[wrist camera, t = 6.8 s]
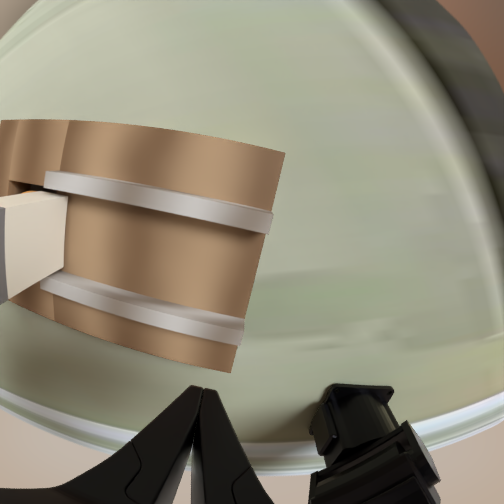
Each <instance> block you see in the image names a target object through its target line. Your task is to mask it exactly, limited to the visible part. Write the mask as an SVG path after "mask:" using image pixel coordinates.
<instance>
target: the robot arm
mask: <svg viewBox="0 0 504 504" xmlns="http://www.w3.org/2000/svg"><path fill="white" fill-rule="evenodd" d="M336 389H337V390H336ZM393 393H394V389H393V388H392V387H391V386H365V385H349V384H334V385H333V386H331V388H330V390H329V392H328V394H327V396H326V398H325V400H324V402H323V403H322V404H321V405H320V407H319V409H318V410H317V412H316V414H315V416H314V418H313V420H312V422H311V426H310V428H309V434H310V435H314V438H315V442H316V447H317V451H318V454H319V455H320V456H324V460H325V464H326V468H325V469H323V470H321V471H319V472H318V471H316V472H314V473H312V474H311V479H310V490H309V500H308V504H440V500H441V499H440V497H439V495H438V493H437V491H436V489H435V487H434V485H435V484H437V483H438V482H440V481H441V480H440V477H439V474H438V472H437V469H436V467H435V464H434V462H433V459H432V457H431V455H430V454H429V452H428V450H427V448H426V447H425V445H424V443H423V442H422V440H421V439H420V437H419V436H418V435H417V433H416V432H415V430H414V429H413V428H412V426H411V425H410V424H409V422H408V421H407V420H406V421H405V422H403V423H402V424H401V426H399V424H398V423H397V421H396V419H395V417H394V415H393V413H392V411H391V410H390V408H389V406H388V404H387V403H388V402H389V400H390V399H391V397H392V395H393ZM202 394H203V395H202ZM201 399H202V400H201ZM200 404H201V405H200ZM199 409H200V410H199ZM198 414H199V415H198ZM197 419H198V420H197ZM194 435H195V436H194ZM193 440H194V441H193ZM192 445H193V447H192ZM191 449H192V468H191V504H274V503H273V501H272V500H271V498H270V497H269V496H268V494H267V493H266V492H265V490H264V488H263V487H262V485H261V483H260V481H259V480H258V478H257V476H256V474H255V472H254V470H253V468H252V467H251V464H250V462H249V460H248V458H247V456H246V454H245V452H244V450H243V448H242V446H241V444H240V442H239V439H238V437H237V435H236V433H235V431H234V429H233V426H232V424H231V422H230V420H229V418H228V415H227V413H226V411H225V408H224V406H223V404H222V402H221V399H220V397H219V394H218V392H217V391H216V390H212V389H208V388H205V389H204V390H203V388H202V387H199V386H194V385H191V386H189V387H188V388H187V389H186V390H185V391H184V392H183V393H182V394H181V395H180V396H179V397H178V398H176V399H175V400H174V401H173V402H172V403H171V404H170V405H169V406H168V407H167V408H166V409H165V410H164V411H162V412H161V413H160V414H159V415H158V416H157V417H156V418H155V419H154V420H153V421H152V422H150V423H149V424H148V425H147V426H146V427H145V428H144V429H143V430H142V431H140V432H139V433H138V434H137V435H136V436H135V437H134V438H132V439H131V441H129V442H128V443H127V444H125V445H124V446H123V447H122V448H121V449H120V450H118V451H117V452H116V453H114V454H113V455H112V456H111V457H109V458H108V459H106V460H104V461H103V462H102V463H100V464H98V465H97V466H95V467H93V468H92V469H90V470H88V471H86V472H85V473H83V474H81V475H79V476H78V477H76V478H74V479H72V480H70V481H69V482H67V483H65V484H62V485H59V486H56V487H51V488H37V489H10V488H0V504H172V503H173V500H174V497H175V495H176V492H177V489H178V486H179V483H180V481H181V478H182V475H183V472H184V469H185V467H186V464H187V461H188V458H189V455H190V452H191Z"/></svg>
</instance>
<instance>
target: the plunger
mask: <svg viewBox="0 0 504 504" xmlns="http://www.w3.org/2000/svg"><path fill="white" fill-rule="evenodd" d="M67 203H68V196H64V195H59V194H54V193H49V192H43V191H37V192H30V193H23V194H16V195H10V196H4V197H0V305H1V304H2V303H4V302H5V301H7V300H8V299H10V298H12V297H13V296H15V295H17V294H18V293H20V292H21V291H23V290H25V289H26V288H28V287H30V286H31V285H33V284H35V283H36V282H38V281H40V280H42V279H43V278H45V277H47V276H49V275H50V274H52V273H54V272H56V271H57V270H59V269H61V268H63V267H64V239H65V224H66V212H67Z"/></svg>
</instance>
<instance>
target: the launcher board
mask: <svg viewBox="0 0 504 504" xmlns="http://www.w3.org/2000/svg"><path fill="white" fill-rule="evenodd" d="M284 157H285V153H284V152H280V151H276V150H272V149H268V148H263V147H259V146H255V145H250V144H246V143H241V142H236V141H232V140H227V139H222V138H216V137H211V136H206V135H200V134H194V133H188V132H182V131H176V130H169V129H162V128H154V127H147V126H138V125H129V124H119V123H108V122H95V121H78V120H45V119H29V120H1V124H0V197H4V196H10V195H16V194H21V193H23V192H26V191H43V192H49V193H54V194H59V195H64V196H68V203H67V212H66V224H65V239H64V267H63V268H61V269H59V270H57V271H56V272H54V273H52V274H50V275H49V276H47V277H45V278H43V279H42V280H40V281H38V282H36V283H35V284H33V285H31V286H30V287H28V288H26V289H25V290H23V291H21V292H20V293H18V294H17V295H15V296H13V297H12V298H10V299H8V300H9V301H11V302H13V303H15V304H17V305H19V306H21V307H24V308H26V309H28V310H30V311H32V312H35V313H37V314H39V315H41V316H44V317H46V318H48V319H51V320H53V321H56V322H58V323H60V324H63V325H65V326H68V327H71V328H73V329H76V330H78V331H81V332H84V333H86V334H89V335H92V336H95V337H98V338H101V339H103V340H106V341H109V342H112V343H115V344H118V345H122V346H125V347H128V348H131V349H134V350H138V351H141V352H145V353H148V354H152V355H155V356H159V357H162V358H166V359H170V360H174V361H178V362H182V363H186V364H190V365H194V366H199V367H203V368H208V369H212V370H217V371H222V372H227V373H231V369H232V366H233V362H234V358H235V354H236V350H237V346H240V345H241V341H242V337H243V333H244V319H245V315H246V311H247V307H248V303H249V299H250V295H251V291H252V287H253V283H254V279H255V275H256V271H257V267H258V263H259V259H260V255H261V251H262V247H263V243H264V239H265V235H266V234H268V235H269V231H270V227H271V223H272V219H273V213H272V212H271V210H272V206H273V202H274V198H275V194H276V190H277V186H278V181H279V177H280V173H281V169H282V165H283V161H284Z"/></svg>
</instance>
